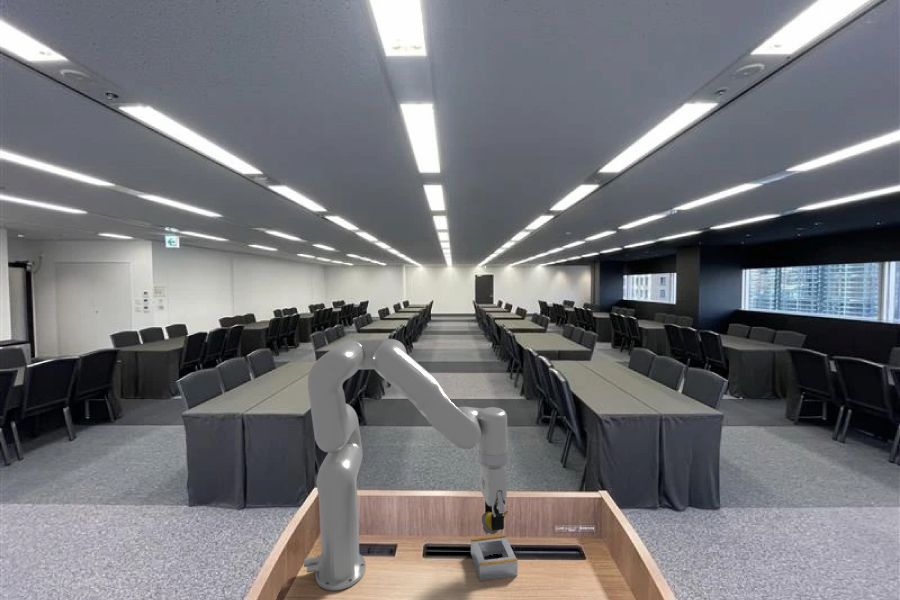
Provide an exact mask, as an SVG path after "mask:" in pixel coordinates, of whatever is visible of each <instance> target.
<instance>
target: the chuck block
mask: <svg viewBox="0 0 900 600" xmlns="http://www.w3.org/2000/svg"><path fill="white" fill-rule="evenodd" d="M493 554H498V555H501V554H502V555H501V557H499V558H491V559H485V557H490V556H489V555H491V556H494V555H493ZM470 555H471V557H472V558H471V559H472V561H473V564H474V568H475V571H476V574H477V577H478V580H479V582H482V581H483V582H485V581H491V580H498V579H503V578H504V579H505V578H511V577H512V578H513V577H517V576H518V558H517V557H516V555H515V553H514V550H513V549H512V547H511V544H510V542H509V540H508V538H507V535H506V534H498V535H489V536H483V537H481V536H480V537H474V538H470Z"/></svg>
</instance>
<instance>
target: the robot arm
mask: <svg viewBox="0 0 900 600" xmlns="http://www.w3.org/2000/svg"><path fill="white" fill-rule="evenodd" d="M358 370H360V371H361V370H375V373H377V374H378V375H379V376H380V377H381V378H383V379H384V380H385V382H387V383H388V384H389V385H391V386H392V387H393V388H394V389H396V390H397V391H398V392H399V393H400V394H401V395H402V396H404V397H405V398H406V399H407V400H409V401H410V402H411V403H412V405H413V406H415V408H416V409H417V411H418V412H419V413H420V414H421V415H422V416H423V417H424V419H426V420H427V421H428V423H429V424H430V425H431V426H432V427H433V428H434V429H435V430H436V431H437V432H438V433H439V434H440V435H441V436H443V437H444V438H445V439H446V440H448V441H449V442H450V443H451V444H452V445H453V446H455V447H457V448H459V449H461V450H471V449H473V448H475V447H476V446H477V445H478V459H479V460H478V462H479V466H480V468H479V469H480V470H479V489H480V492H481V494H482V496H483V498H484V509H485V510H484V513H486V512H488V511H489V512H492V513H493V515H491V528H492V530H493V531H495V530H499V531H501V530H502V531H503V530H505V529H504V528H505V518H504V513H505V511H506V509H505V505H507V498H508V497H507V495H508V491H507V474H506V473H507V472H506V466H507V465H508V462H509V460H508V459H509V457H508V456H509V455H508V454H509V453H508V450H509V449H508V446H509V445H508V444H509V443H508V414H507V412H506V411H505V410H504V409H502V408H499V407H495V406H491V407H485V408H481V407H472V406H456V405H455V404H454V402H452V401H451V400H450V397H448V396H447V394H446V393H445V392H444V389H443V388H442V386H441V384H440V383H439V381H438V380H437V379H436V377H434V375H432V374H431V373H430V372H429V371H428V370H426V369H425V367H423V366H422V365H421V364H419V363H418V362H417V361H416V360H415V359H413V357H411V355H410V354H408V353H407V349H406V346H405V345H404V344H403V343H402V341H399V340H397V339H395V338H370V339H365V338H364V339H347V340H344V341H341V342H340V343H338V344H337V345H336V346H334V347H333V348H331V349H330V350H328V351H327V352H326V353H325V354H323V355H322V356H320V357H319V358H318V359H317V360H316V361H315V362H314V363H313V365H312V366H311V368H310V369H309V374H308V375H307V389H308V390H307V391H308V398H309V403H310V413H311V420H312V421H311V422H312V428H313V433H314V439H315V443H316V445H317V446H318V448H319V450H321V451H323V452H324V453H327V454H326V456H325V457H324V459H323V462H322V463H321V464H320V467H319V469H318V471H317V476H316V489H317V495H318V503H319V519H320V522H319V523H320V526H319V527H320V555H317V556H316V557H307V558H306V557H305V558H304V562H303V568H306V569H307V570H306V573H313V572H315V581H316V584H317V585H318V586H319V587H321V588H322V589H324V590H327V591H343V590H344V589H348V588H350V587H352V586H353V585H355V584H357V583H358V582H359V581H360V580H361V579H362V578H363V576H364V574H365V572H366V569H367V568H366V566H367V565H366V560H365V558H364V557H363V555H361V554H360V536H359V535H360V534H359V533H360V531H359V528H360V527H359V522H360V521H359V499H358V490H357V477H358V475H359V471H360V467H361V466H362V461H363V458H364V457H363V456H364V455H363V454H364V453H363V444H362V437H361V431H360V425H359V423H360V422H359V418H358V414H357V412H356V410H355V409H354V408H353V406H351V405H350V404H348V403H346V396H345V391H344V389H343V388H344V387H343V384H344V383H345V381H347V380H348V379H350V378H351V377H353V376H354V375H355V374H356V373H357V372H358Z"/></svg>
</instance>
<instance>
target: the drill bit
mask: <svg viewBox="0 0 900 600" xmlns="http://www.w3.org/2000/svg"><path fill="white" fill-rule="evenodd" d="M508 512H509V511H507V510H505V513H504V519H505V518H506V515H507V514H508ZM491 515H493V513H492V512H489V511H488V512H486V513H485V512H484V513H483V514H482V516H481V522H482V530H483V532H484V533H485V535H487V534H490V535H495V534H497V533H498V532H499V531H500V530H495V531H493V530H492V528H491Z"/></svg>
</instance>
